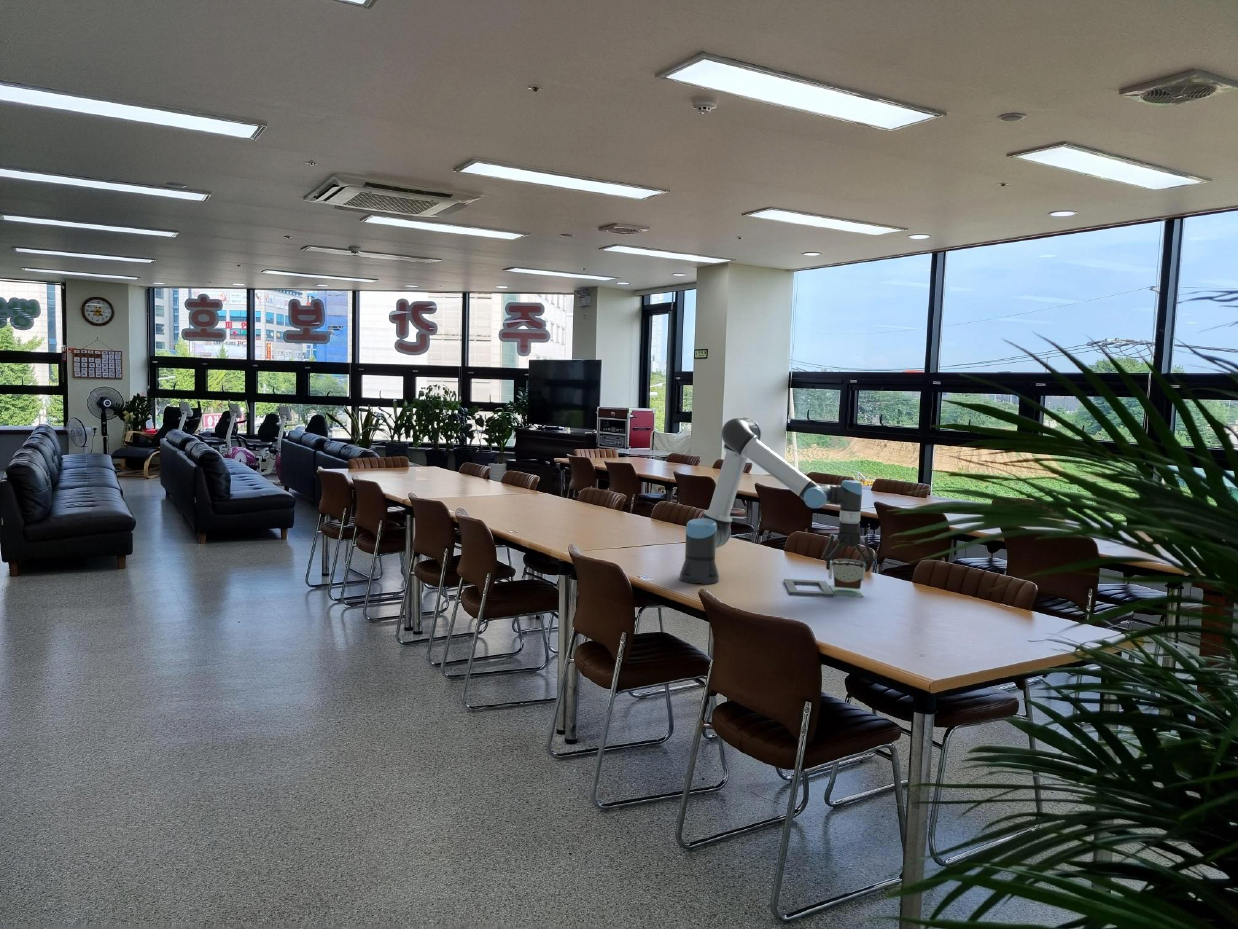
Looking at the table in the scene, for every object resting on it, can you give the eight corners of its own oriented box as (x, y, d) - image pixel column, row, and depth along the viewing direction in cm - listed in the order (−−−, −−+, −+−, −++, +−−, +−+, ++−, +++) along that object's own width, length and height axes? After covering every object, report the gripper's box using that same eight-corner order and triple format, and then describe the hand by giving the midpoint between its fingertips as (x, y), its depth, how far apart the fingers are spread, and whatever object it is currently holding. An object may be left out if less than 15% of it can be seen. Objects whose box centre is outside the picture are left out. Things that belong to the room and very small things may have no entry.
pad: (835, 595, 311) (835, 594, 311) (829, 585, 327) (829, 584, 327) (863, 597, 310) (863, 596, 310) (855, 587, 326) (855, 586, 326)
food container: (863, 586, 320) (865, 560, 319) (864, 589, 314) (865, 563, 313) (830, 583, 323) (831, 557, 322) (830, 586, 317) (831, 560, 316)
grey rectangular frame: (789, 594, 310) (789, 591, 310) (783, 581, 332) (783, 578, 332) (834, 597, 309) (834, 594, 308) (825, 584, 330) (825, 581, 330)
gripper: (818, 521, 314) (815, 579, 316) (884, 525, 312) (880, 583, 314) (815, 518, 322) (812, 575, 323) (880, 522, 319) (876, 578, 321)
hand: (846, 579), depth 319 cm, fingers closed on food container, 11 cm apart
